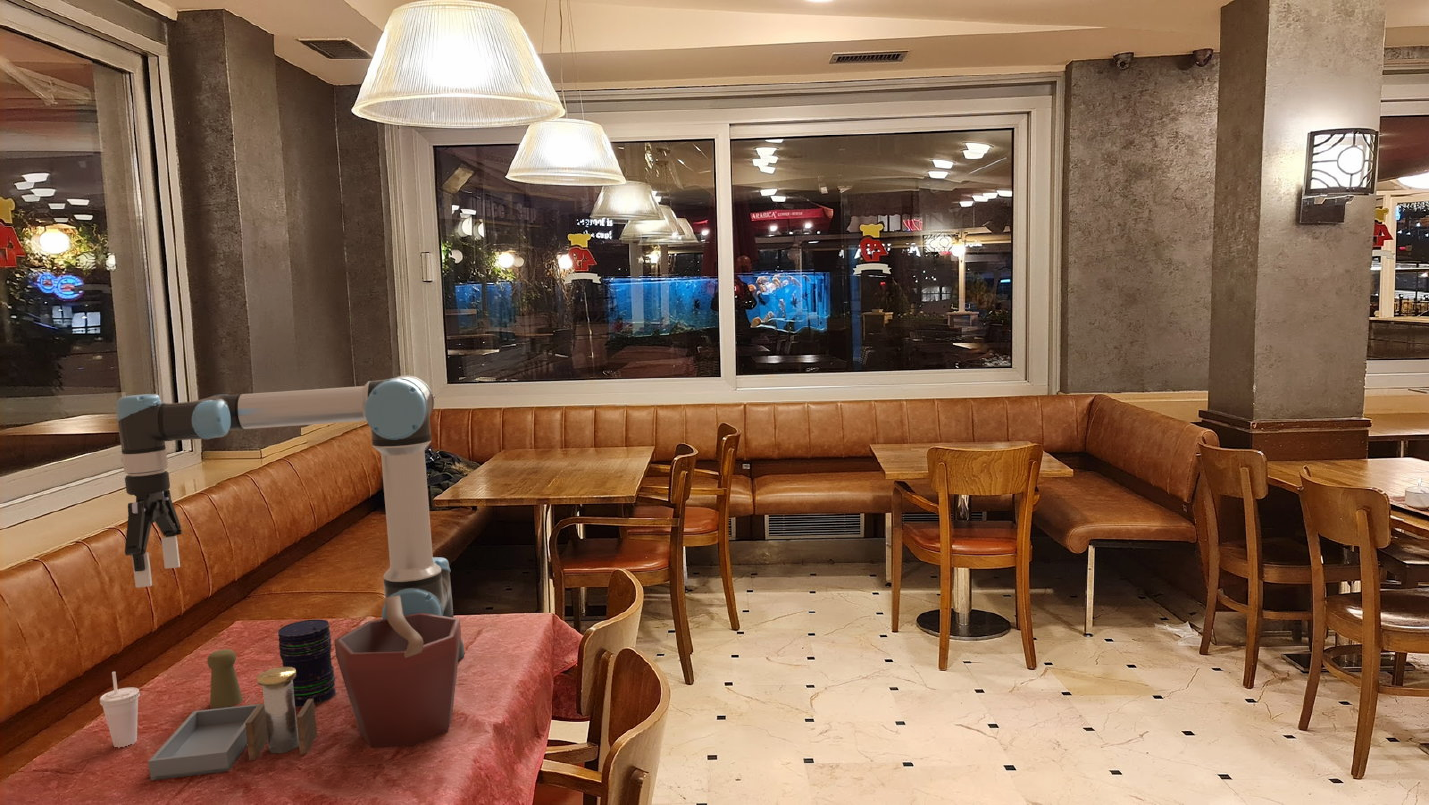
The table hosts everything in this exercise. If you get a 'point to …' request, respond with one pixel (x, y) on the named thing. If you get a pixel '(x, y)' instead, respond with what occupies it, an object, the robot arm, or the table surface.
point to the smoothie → (121, 714)
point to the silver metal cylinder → (280, 708)
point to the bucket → (401, 675)
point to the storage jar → (308, 659)
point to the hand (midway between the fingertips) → (158, 576)
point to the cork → (223, 679)
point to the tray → (203, 743)
